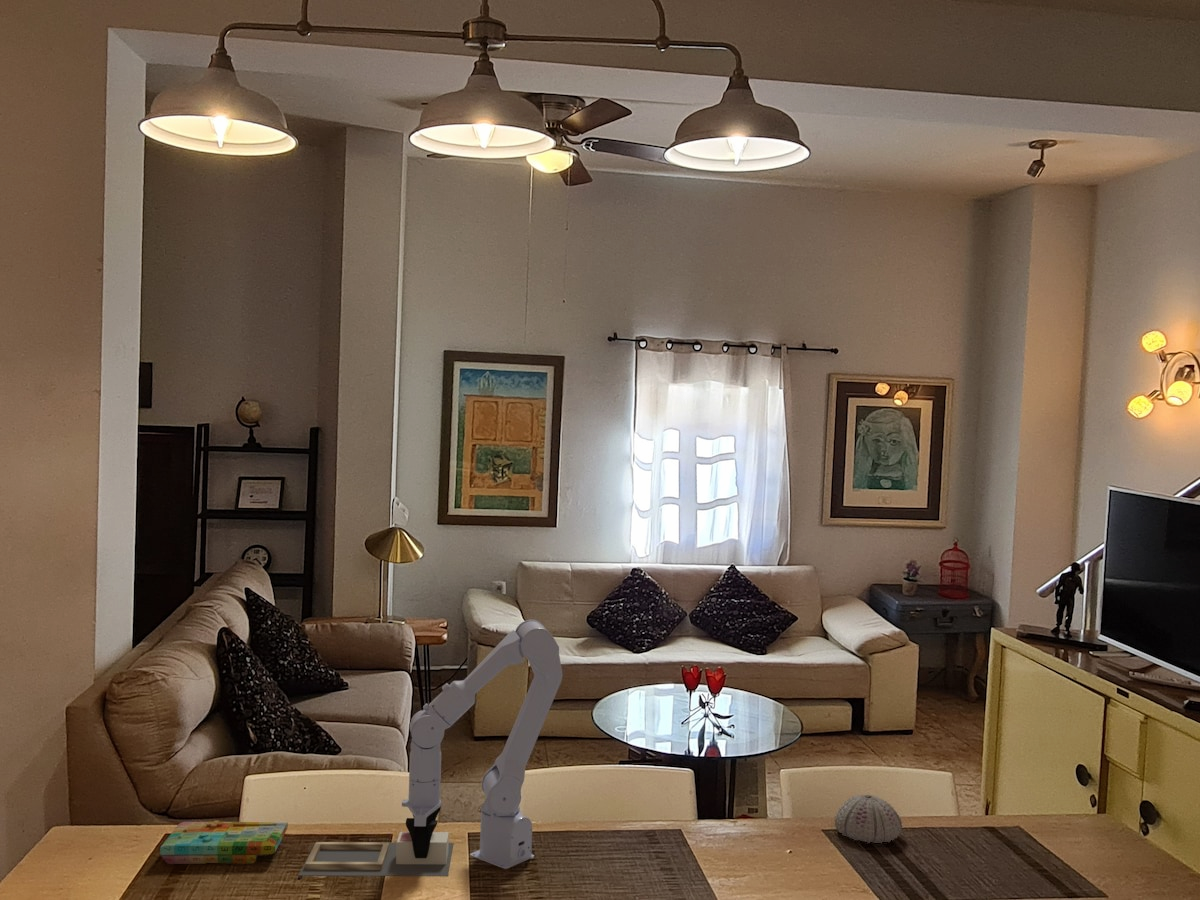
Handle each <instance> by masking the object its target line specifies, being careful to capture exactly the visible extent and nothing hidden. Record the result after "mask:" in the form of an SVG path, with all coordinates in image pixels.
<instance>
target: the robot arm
mask: <svg viewBox="0 0 1200 900" xmlns="http://www.w3.org/2000/svg"><path fill="white" fill-rule="evenodd" d="M523 658H526V660H527V661H528V663H529V665H530V668H531V670H532V672H533V675H534V676H533V678H532V681H531V683H530V686H529V688H528V691H527V693H526V695H525V697H524V700H523V703H522V705H521V707H520V709H519V712H518V714H517V717H516V719H515V721H514V723H513V726H512V729H511V730H510V734H509V735H508V738H507V740H506V742H505V745H504V747H503V750H502V752H501V753H500V754H499V755H498V756H497V758H496V759H495V760H494V763H493V765H492V766H491V768H489V769H488V770H487V771H486V772H485V773H484V775H483V776H482V780H481V788H482V789H481V790H482V791H483V793H484V795H485V800H484V802H483V803H482V804H481V806H480V807H481V808H480V840H479V849H478V850H476V851H473V852H470V853H469V856H470V857H473V858H476V859H477V860H480V861H484V862H486V863H488V864H491V865H494V866H497V867H499V868H500V869H504V870H507V869H510V868H513V867H515V866H517V865H518V864H521V863H524V862H525V861H528V860H530V859H531V860H533V859H534V858H535V855H534V854H533V851H532V850H533V845H532V844H533V824H532V821H531V819H530V818H528V817H527V816H525V815H524V814H523V813H522V811H521V806H520V805H521V801H522V787H523V785H524V781H525V776H526V766H527V764H528V761H529V759H530V757H531V755H532V752H533V749H534V748H535V745H536V742H537V740H538V737H539V735H540V733H541V730H542V728H543V726H544V723H545V721H546V719H547V717H548V714H549V711H550V710H551V706H552V704H553V702H554V699H555V698H556V694H557V692H558V690H559V688H560V686H561V683H562V681H563V675H564V674H563V670H562V669H563V668H562V664H561V658H560V646H559V645H558V642H557V641H556V639H555V638H554V636H553V634H552V633H551V632H550V631H549V630H548V629H547V628H546V627H545V626H544V624H543V623H542V622H540V621H538V620H536V619H526V620H524V621H522V622H521V623H520V624H518V625H517V627H516V629H513V630H511V631H509V632H508V633H507V635H506V636H505V637H504V638H503V639H501V641H499V643H498V644H497V645H495V647H494V648H493V649H492V650H491V651H490V652H489V653H488V654H487V655H486V657H484V658H483V660H482V661H481V662H480V663H479V664H477V666H476V667H475V668H474V669H473V670H472V671H471V672H470V673H469V674H468V675H467V676H466V677H465V678H464V679H463V680H453V681H452V682H451V683H450V684H449V683H447V682H446V683H445V684H444V685H442V687H441V689H442V691H441V692H440V693H439V694H438V695H437V696H435V698H433V700H431V702H429V704H428V703H425V704H424V705H423V707H422V708H423V709H422V710H419V711H417V712H416V713H414V714H413V716H412V717H411V719H410V723H409V724H408V729H409V732H410V737H411V742H410V751H409V767H408V768H409V769H408V773H409V774H408V777H409V778H408V798H404V799H402V801H401V807H405V808H406V807H407V808H408V810H409V811H410V812H411V814H412V816H413V817H407V818H406V820H405V827H406V830H408V831H407V832H409V833H410V835H411V839H412V844H413V850H414V855H415V858H427V855H428V851H429V846H430V840H431V836H432V833H433V832H435V829H436V827H437V825H438V821H439V820H436V819H437V818H438V816H439V815H438V814H439V813H440V811H441V807H442V800H441V777H442V775H441V774H442V771H441V770H442V751H441V743H442V741H443V739H444V737H445V730H447V729H449V728H451V727H452V726H453V725H454V724H455V723H456V722H457V721H458V720H459V719H460V718H461V717H463V715H464V714H465V713H467V711H468V710H470V708H471V707H473V706H474V705H475V703H476V702H475V701H476V694H477V693H478V692H479V691H480V690H481V689H482V688H484V686H486V685H487V684H488V683H490V682H491V680H492V679H494V678H495V677H496V676H497V675H498V674H499V673H501V672H502V671H503V670H504V669H505V668H506V667H508V666H511V665H523V664H525V661H524V659H523Z"/></svg>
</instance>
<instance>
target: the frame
mask: <svg viewBox="0 0 1200 900" xmlns="http://www.w3.org/2000/svg"><path fill="white" fill-rule="evenodd" d="M315 843H316V844H315ZM315 843H314V844H315V846H314V845H313V846H314V848H313V847H312V848H313V850H312V849H311V850H312V852H311V851H310V852H311V853H309V854H310V855H308V856H309V857H308V856H307V858H308V859H307V858H306V860H307V861H305V862H306V863H305V862H304V864H305V870H382V868H383V865H384V862H385V859H386V856H387V853H388V850H389V842H387V841H386V842H384V841H383V842H377V841H375V842H372V841H371V842H367V841H356V842H355V841H315ZM321 849H333V850H381V852H380V855H379V858H378V861H377V862H315V860H316V858H317V856H318V854H319V852H320V850H321Z"/></svg>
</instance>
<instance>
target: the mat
mask: <svg viewBox="0 0 1200 900" xmlns="http://www.w3.org/2000/svg"><path fill="white" fill-rule="evenodd" d="M315 844H316V842H315V843H314V844H313V847H312V849H311V850H310V851H309V852H310V853H311V852H312V850H313V848H314V846H315ZM454 845H455V843H454V842H448V857H447V862H446V864H396V848H397V842H392V841H391V842H389V850H388V853H387V856H386V859H385V862H384V865H383V868H382V870H305V863H306V861H307V859H308V857H309V855H310V853H309V855H307V858H306V861H305V862H304V864H303V866H302V868H301V870H300V872H299V874H298V879H303V877H305V876H306V877H309V876H310V877H315V876H316V877H319V876H320V877H321V876H322V877H323V876H324V877H325V876H327V877H328V876H329V877H449V873H450V867H451V862H452V861H451V860H452V857H453V850H454ZM380 852H381V850H333V849H321V850H320V852H319V854H318V856H317V858H316V860H315V862H377V861H378V858H379V855H380Z"/></svg>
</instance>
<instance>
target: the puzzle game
mask: <svg viewBox="0 0 1200 900" xmlns="http://www.w3.org/2000/svg"><path fill="white" fill-rule="evenodd" d="M288 826H289V822H286V821H285V822H284V821H283V822H280V821H278V822H277V821H276V822H275V821H274V822H273V821H268V822H267V821H266V822H264V821H221V820H213V821H182V822H179V823H178V824H177V826H176V827H175V828H174V830H173V831H172V832H171V833H170V834H169V836H168V837H167V838H166V839H165V840H164V842H163V843H162V844H161V846H159V856H161V857H162V859H163V860H164V861H165V862H166V863H167V864H168V865H195V864H196V865H197V864H198V865H200V864H201V865H203V864H204V865H205V864H206V863H237V864H255V862H256V861H257V860H258V858H259V856H272V855H273V854H275V853H276V851H277V849H278V847H279V845H280V843H281V842H282V840H283V838H284V836H285V834H286V832H287V830H288V829H289V827H288ZM246 862H247V863H246ZM252 862H253V863H252Z"/></svg>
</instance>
